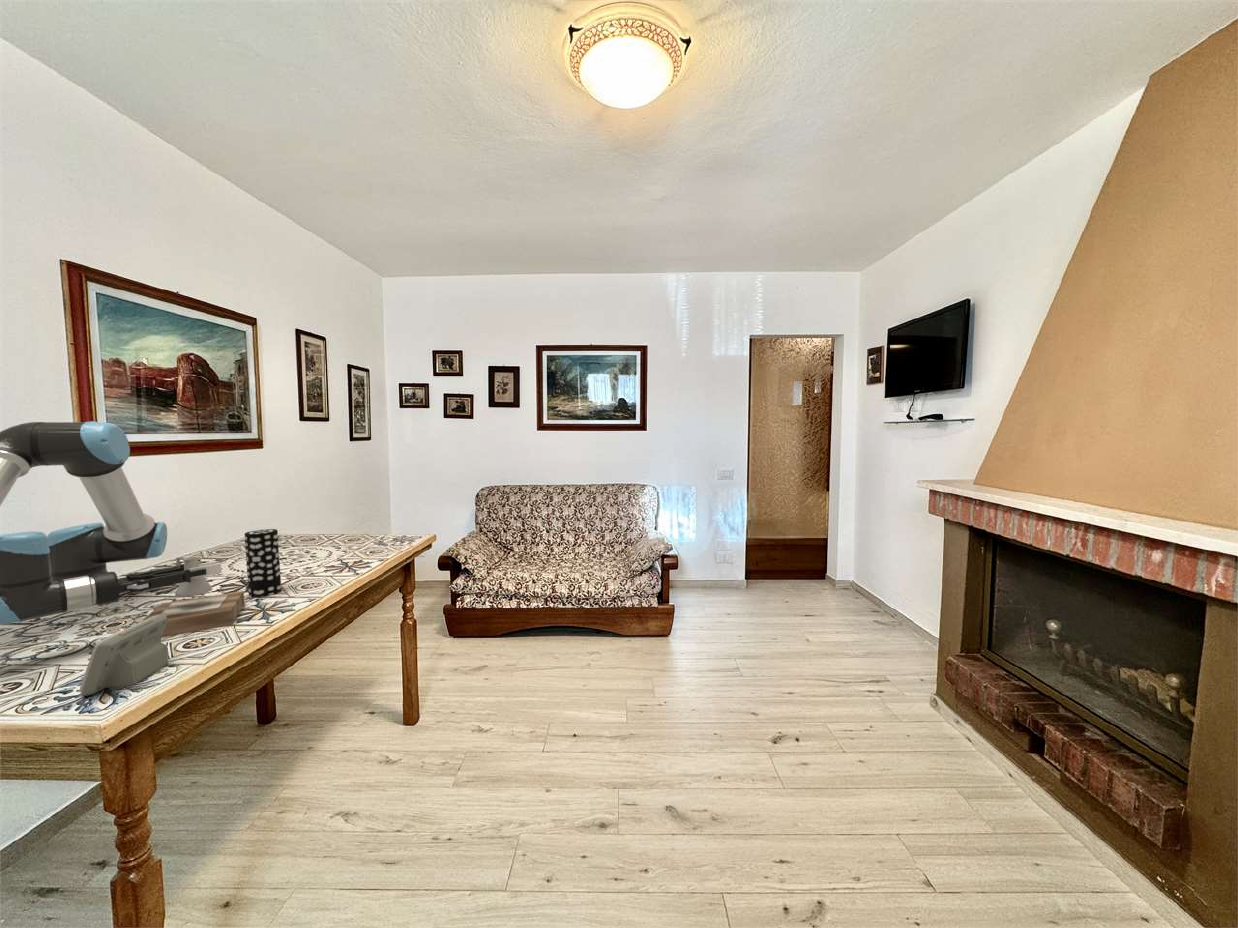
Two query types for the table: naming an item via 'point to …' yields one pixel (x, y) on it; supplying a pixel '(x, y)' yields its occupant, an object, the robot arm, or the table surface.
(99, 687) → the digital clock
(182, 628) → the walnut plinth
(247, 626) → the table surface
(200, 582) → the flask
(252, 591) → the white-spotted black cylinder
